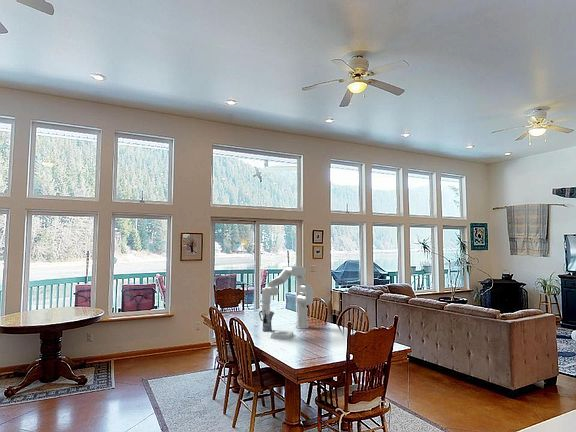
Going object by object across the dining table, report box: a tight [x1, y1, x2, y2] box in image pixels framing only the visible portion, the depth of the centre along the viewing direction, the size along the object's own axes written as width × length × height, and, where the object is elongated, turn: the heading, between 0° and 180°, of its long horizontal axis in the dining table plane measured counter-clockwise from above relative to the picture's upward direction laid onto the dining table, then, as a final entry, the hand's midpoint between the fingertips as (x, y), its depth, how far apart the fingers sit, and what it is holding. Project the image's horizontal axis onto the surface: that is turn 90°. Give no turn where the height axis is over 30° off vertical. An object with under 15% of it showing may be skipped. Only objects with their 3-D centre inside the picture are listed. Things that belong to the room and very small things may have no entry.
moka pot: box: [258, 310, 275, 332], centre depth 356 cm, size 10×15×20 cm, turn 78°
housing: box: [270, 329, 294, 340], centre depth 333 cm, size 16×16×3 cm
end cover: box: [262, 315, 270, 328], centre depth 335 cm, size 6×6×11 cm
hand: (266, 322), depth 335 cm, fingers closed on end cover, 6 cm apart
